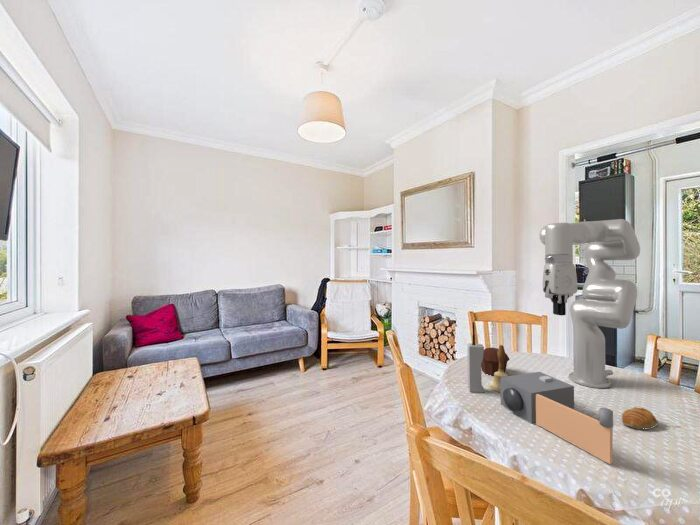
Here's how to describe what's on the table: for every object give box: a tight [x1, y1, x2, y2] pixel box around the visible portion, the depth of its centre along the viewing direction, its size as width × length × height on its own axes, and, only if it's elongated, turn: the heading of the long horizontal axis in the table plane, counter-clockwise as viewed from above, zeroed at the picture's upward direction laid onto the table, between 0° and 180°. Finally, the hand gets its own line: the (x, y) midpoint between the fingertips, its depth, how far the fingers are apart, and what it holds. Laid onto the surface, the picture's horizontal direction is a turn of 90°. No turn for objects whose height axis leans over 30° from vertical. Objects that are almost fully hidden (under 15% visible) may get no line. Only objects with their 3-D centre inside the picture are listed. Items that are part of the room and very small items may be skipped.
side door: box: [535, 394, 614, 465], centre depth 77 cm, size 18×2×12 cm, turn 21°
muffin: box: [481, 347, 510, 377], centre depth 124 cm, size 12×11×10 cm
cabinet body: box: [500, 371, 575, 425], centre depth 94 cm, size 18×12×10 cm
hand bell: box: [488, 344, 509, 393], centre depth 109 cm, size 8×8×16 cm
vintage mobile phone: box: [466, 321, 485, 394], centre depth 108 cm, size 4×5×25 cm
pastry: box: [621, 406, 659, 430], centre depth 85 cm, size 9×7×4 cm
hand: (559, 314), depth 99 cm, fingers closed
